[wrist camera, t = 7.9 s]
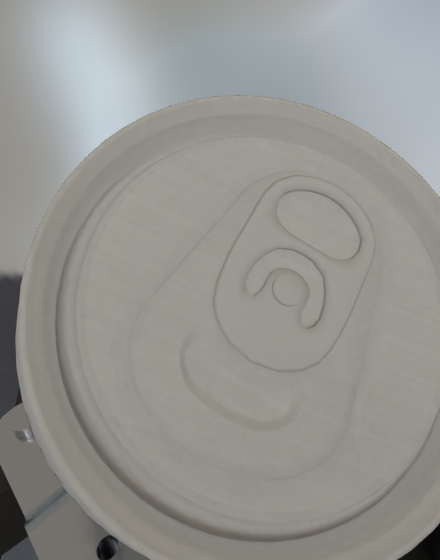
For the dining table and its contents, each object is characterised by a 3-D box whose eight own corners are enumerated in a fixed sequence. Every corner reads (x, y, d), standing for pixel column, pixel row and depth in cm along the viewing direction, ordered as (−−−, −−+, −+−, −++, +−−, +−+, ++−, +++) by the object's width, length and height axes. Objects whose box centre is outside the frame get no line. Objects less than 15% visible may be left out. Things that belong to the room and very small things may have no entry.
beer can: (94, 385, 17) (-226, 424, 2) (160, 284, 19) (188, -6, 5) (200, 446, 17) (460, 810, 3) (253, 340, 19) (562, 225, 5)
